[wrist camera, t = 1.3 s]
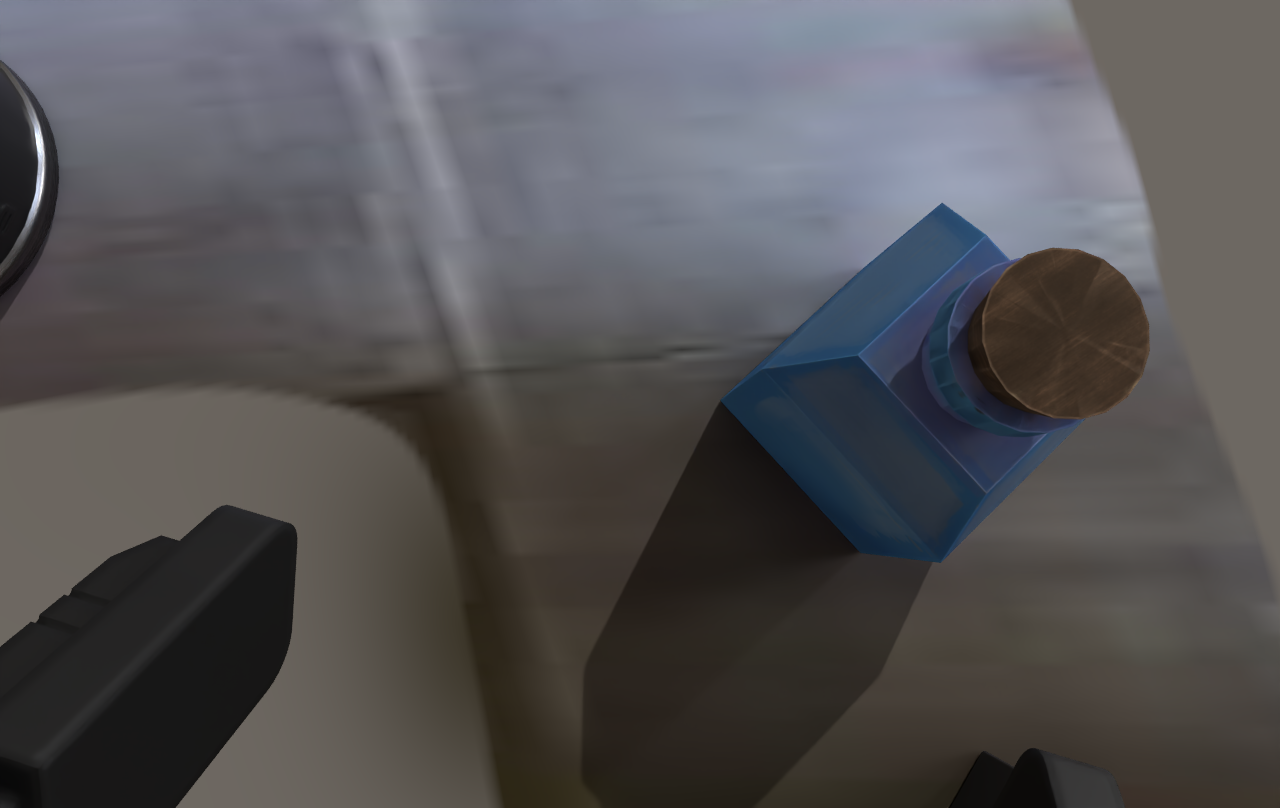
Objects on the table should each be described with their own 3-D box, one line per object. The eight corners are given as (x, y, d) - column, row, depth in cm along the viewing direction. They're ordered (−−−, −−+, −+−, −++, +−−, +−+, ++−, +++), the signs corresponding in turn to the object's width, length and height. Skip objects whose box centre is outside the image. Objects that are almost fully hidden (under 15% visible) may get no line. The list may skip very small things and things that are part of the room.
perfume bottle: (864, 267, 30) (1063, 101, 18) (1001, 414, 30) (1296, 346, 18) (719, 400, 29) (828, 318, 17) (860, 552, 29) (1069, 578, 17)
